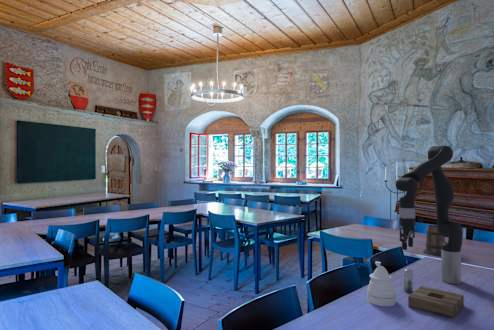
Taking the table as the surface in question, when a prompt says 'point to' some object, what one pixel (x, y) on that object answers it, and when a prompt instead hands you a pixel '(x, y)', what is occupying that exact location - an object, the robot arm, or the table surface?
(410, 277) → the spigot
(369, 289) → the honey pot
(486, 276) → the table surface
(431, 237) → the tankard
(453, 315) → the socket block
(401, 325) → the table surface
